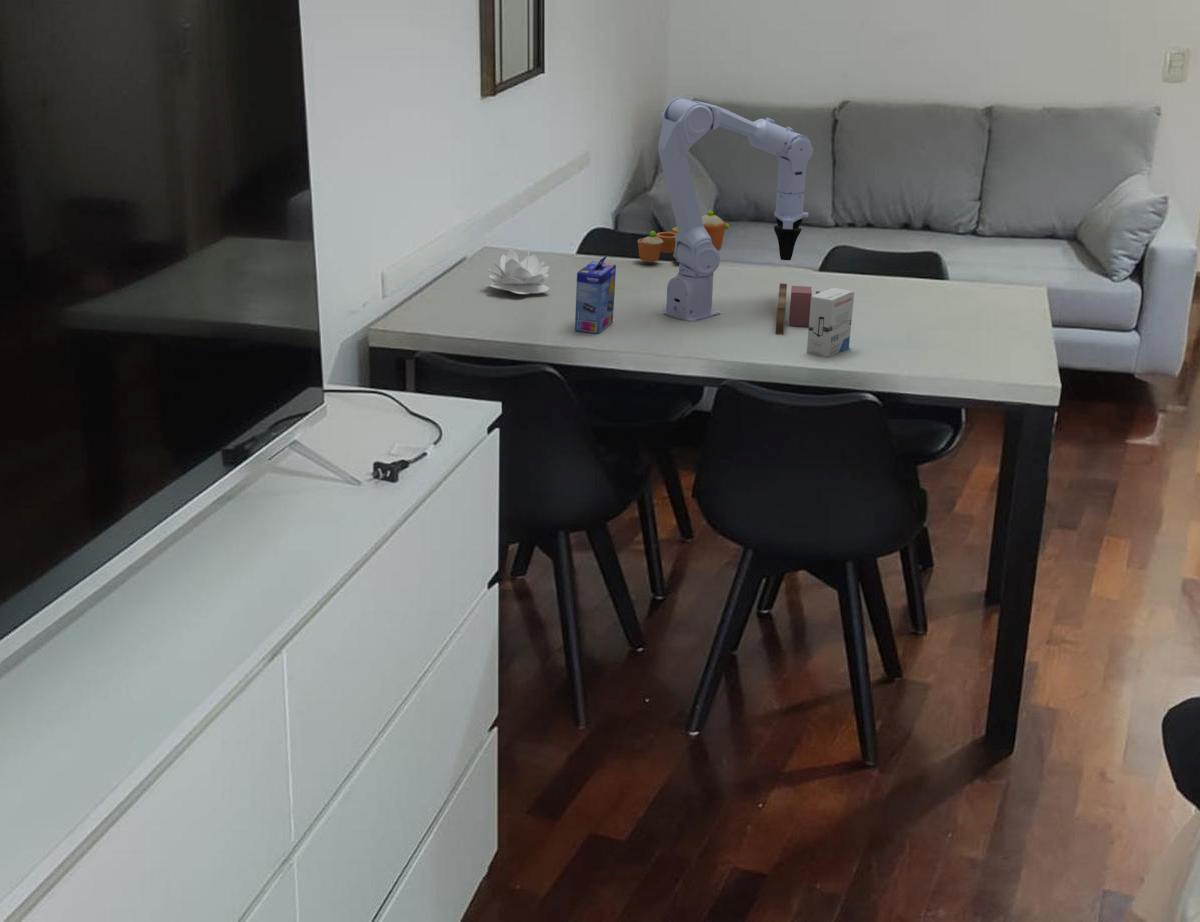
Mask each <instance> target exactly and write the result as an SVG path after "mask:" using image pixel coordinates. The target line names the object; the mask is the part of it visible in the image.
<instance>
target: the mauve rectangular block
mask: <svg viewBox="0 0 1200 922" xmlns="http://www.w3.org/2000/svg"><path fill="white" fill-rule="evenodd" d="M812 289H813V288H812V286H804V285H803V286H801V285H791V289H790V290H791V292H790V293H791V294H790V302H789V303H790V304H789V305H790V306H789V319H788V320H789V321H788V322H789V323H788V324H789V327H790V326H792V327H807V328H809V318H810V304H811V296H813V294H812V293H813V291H812Z"/></svg>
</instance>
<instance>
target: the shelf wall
mask: <svg viewBox="0 0 1200 922" xmlns="http://www.w3.org/2000/svg"><path fill="white" fill-rule="evenodd" d="M787 289H788V284H787V283H782V282H781V283H779V289H778V297H777V298H778V299H777V309H776V323H775V335H784V329H785V317H786V315H785V314H786V305H787V303H786V302H787V291H788V290H787Z"/></svg>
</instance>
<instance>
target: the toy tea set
mask: <svg viewBox="0 0 1200 922" xmlns="http://www.w3.org/2000/svg"><path fill="white" fill-rule="evenodd" d="M701 217H702V222H703V226H704V228H705V229H706V231H707V233H708V234H709V236H710V237H711V240H712V244H713V246H714V247H715V248H716V249H717V250H718V252H719V251H721V249H722V245H723V240H724V235H725V230H729V229H730V224H729V223H727V222H725V221H724V220H723V219H722V218H720V217H719V216H718V215H716V214H715V213H714V211H713V210H712V209H710V210H708V211H707V213H706V214H704V215H701ZM677 231H678V228H677V226H674V227H673V228H671V229H670V230H669V231H662V232H661V231H660V232H657V233H656V231H655V230H651V231H650V232H649V236H646V237H643V238H638V240H637V247H638V255H639V259H640V261H644V262H655V261H658V260H659V259H660V255H661V253H664V254H666V253H667V254H670V253H673V254H672V257H673V258H674V259H676V258H675V254H674V251H675V245H676V241H675V237H674V236H675V234H676V233H677Z"/></svg>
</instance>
